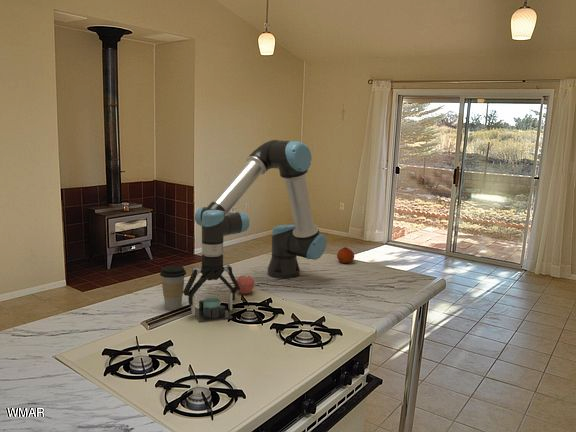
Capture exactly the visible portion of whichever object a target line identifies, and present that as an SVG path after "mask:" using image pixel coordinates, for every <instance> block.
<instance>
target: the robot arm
mask: <svg viewBox="0 0 576 432" xmlns="http://www.w3.org/2000/svg"><path fill="white" fill-rule="evenodd" d="M312 160H313V159H312V152H311V150H310V148H309V146H308V145H307V144H306V143H304V142H301V141H296V140H280V139H279V140H278V139H272V140H267V141H265V142H264V143H263V144H260V145H259V146H258V147H257V148H255V150H253V151H252V152H251V153H250V155H249V156H248V157H247V158H246V163H244V165H243V166H242V167H241V168H240V169H239V170H238V172H236V174H235V175H234V176H233V177H232V178H231V179H230V181H228V183H227V184H226V185H225V186H224V188H222V190H221V191H220V192H219V193H218V194H217V195H216V197H215V198H213V200H212V201H211V202H210V203H209V204H208V205H207V206H201V207H199V208H198V209H197V210H196V212H195V213H194V219H195V220H194V221H195V223H196V224H197V225H198V226H200V227H201V254H202V255H201V267H200V268H196V267H193V268H192V271H191V274H190V276H189V279H188V281H187V283H186V285H185V287H184V288H183V295H184V296H187V297H188V302H187V303H188V305H189V306H190V307H191V308H190V309H191V311H190V313H192V315H193V316H195V315H194V314H195V308H196V296H195V294H196V293H197V292H198V290H199V289H200V288H201V286H202V285H203V284H204V283H206V281H212V280H213V281H218V280H219V279H220V281H222V282H223V283H224V285H225V286H226V287H227V288H228V289H229V290H228V294H227V295H228V298H227V299H228V300H227V302H228V304H227V306H228V310H229V311H233V301H235V300H236V293H237V291H238V290H240V287H239V285H238V283H237V281H236V280H237V279H236V278H235V275H234V273H233V268H232V266H231V265H229V264H228V265H226V266H224V237H225V236H230V235H236V234H242V233H244V232H246V231H247V230H249V227H250V218H249V215H247V214H246V212H243V211H241V212H239V211H238V212H237V211H236V212H230V211H231V210H232V209H233V207H234V206H235V205H236V204H237V203H238V202H239V200H240V199H241V198H242V197H243V196H244V194H245V193H246V192H248V190H249V189H250V187H251V186H253V184H254V183H255V181H256V180H257V179H258V178H259V177H260V176H261V175H264V174H266V172H267V171H269V170H271V169H278V173H279V175H280V177H281V178H282V179H283V180H284V181H285V187H286V191H287V197H288V201H289V206H290V210H291V215H292V220H293V223H294V224H280V225H276V226H274V227H273V228H272V234H271V257H270V260H269V264H268V266H267V272H266V273H267V275H268V276H270V277H272V278H276V279H277V278H278V279H293V278H294V279H295V278H298V277H299V276H300V273H301V272H300V271H301V270H300V265H299V262H298V258H297V257H301V258H304V259H307V260H314V261H316V260H318V259H320V258H321V257H322V256H323V255H324V254H325V250H326V249H327V241H328V240H327V237H326V235H324V234H322V233H320V228H319V226H318V225H317V224H315V220H314V216H313V210H312V205H311V199H310V193H309V188H308V185H307V183H308V182H307V179H306V175H307V174H308V172H309V168H310V167H311V164H312ZM224 272H225V273H228V276H229V278H230V280H231V281H232V284H233V286H232V285H231V283H230V282H229V281H228V280H227V279H226V278H225V277H224V275H223V273H224ZM200 273H201V275H200V277H199V278H198V280H197V281H196V279H197V276H199V274H200ZM195 281H196V283H194V282H195ZM238 292H239V291H238Z"/></svg>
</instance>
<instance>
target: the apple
mask: <svg viewBox="0 0 576 432" xmlns="http://www.w3.org/2000/svg"><path fill="white" fill-rule="evenodd" d="M236 281H237V283H238V285H239V287H240V290H238V292H239V293H240V294H244V295H246V294H249V293H251V292H252V291H253V290H254V288H255V280H254V278H253V277H251V276H250V275H246V274H245V275H241V276H238V277H237V279H236Z"/></svg>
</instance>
